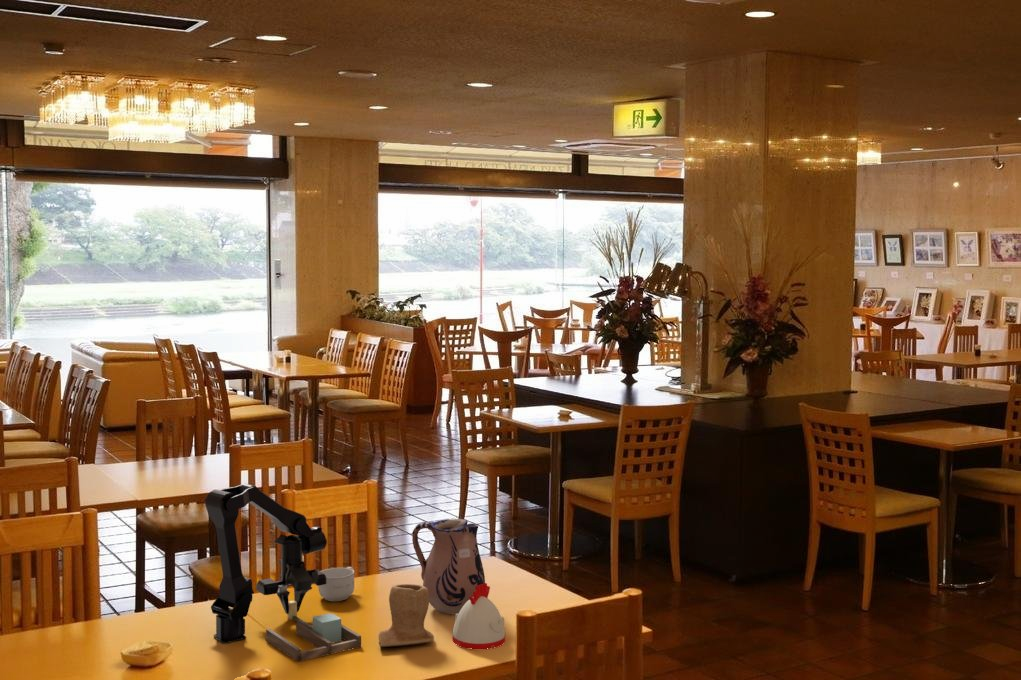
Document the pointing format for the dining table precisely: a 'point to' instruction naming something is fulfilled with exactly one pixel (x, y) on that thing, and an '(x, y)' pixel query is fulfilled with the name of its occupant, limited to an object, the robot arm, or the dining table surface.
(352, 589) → the teacup
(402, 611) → the stone cup
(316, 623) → the mallet
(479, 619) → the kitchen timer
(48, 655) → the dining table surface
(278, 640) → the lane rack
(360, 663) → the dining table surface
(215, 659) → the dining table surface
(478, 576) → the ceramic pitcher
